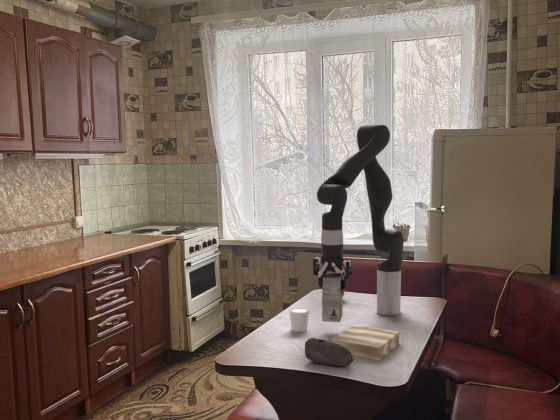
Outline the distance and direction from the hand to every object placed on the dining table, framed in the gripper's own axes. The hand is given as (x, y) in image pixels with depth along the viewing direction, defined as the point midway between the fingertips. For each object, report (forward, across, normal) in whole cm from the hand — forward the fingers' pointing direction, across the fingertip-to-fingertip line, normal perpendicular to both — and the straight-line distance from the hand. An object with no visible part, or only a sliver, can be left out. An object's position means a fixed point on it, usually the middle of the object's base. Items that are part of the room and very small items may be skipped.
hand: (332, 288), depth 193 cm
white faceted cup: (+16, +12, +2) cm, 20 cm away
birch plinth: (+16, -16, +8) cm, 24 cm away
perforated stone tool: (+16, -12, +28) cm, 34 cm away
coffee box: (+11, 0, 0) cm, 11 cm away
